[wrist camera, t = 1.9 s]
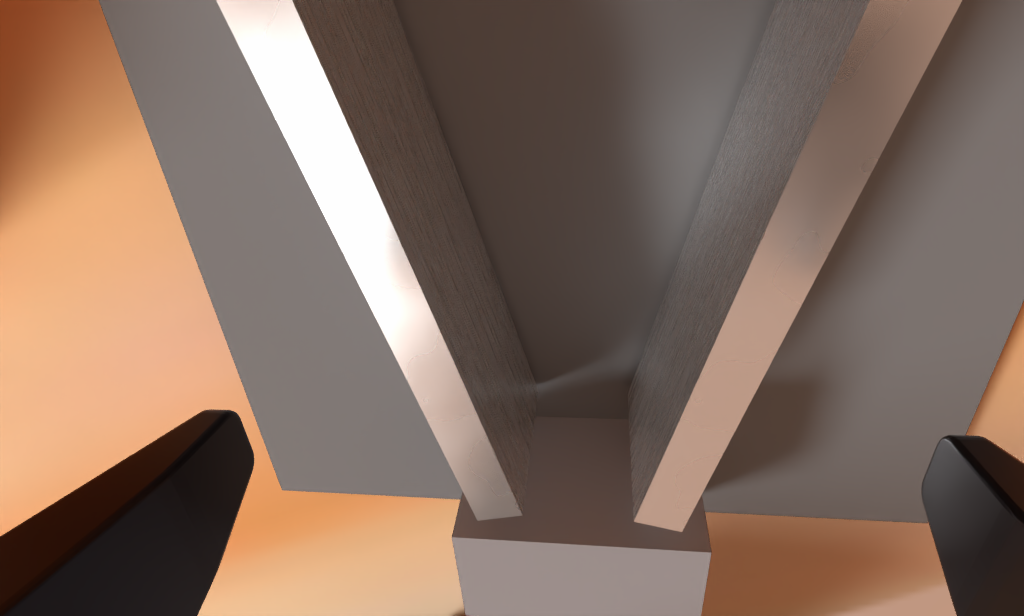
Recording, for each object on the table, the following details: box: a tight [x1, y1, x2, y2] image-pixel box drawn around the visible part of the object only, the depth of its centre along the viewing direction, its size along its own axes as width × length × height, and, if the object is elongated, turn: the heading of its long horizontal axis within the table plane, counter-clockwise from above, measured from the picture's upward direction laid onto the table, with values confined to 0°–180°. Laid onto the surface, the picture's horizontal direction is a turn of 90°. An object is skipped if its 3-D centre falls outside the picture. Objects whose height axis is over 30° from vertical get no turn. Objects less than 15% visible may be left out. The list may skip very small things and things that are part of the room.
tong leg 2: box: [628, 0, 962, 532], centre depth 11 cm, size 14×1×4 cm, turn 170°
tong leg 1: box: [216, 0, 538, 521], centre depth 12 cm, size 14×1×4 cm, turn 18°
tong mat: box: [99, 0, 1024, 616], centre depth 12 cm, size 22×19×5 cm
